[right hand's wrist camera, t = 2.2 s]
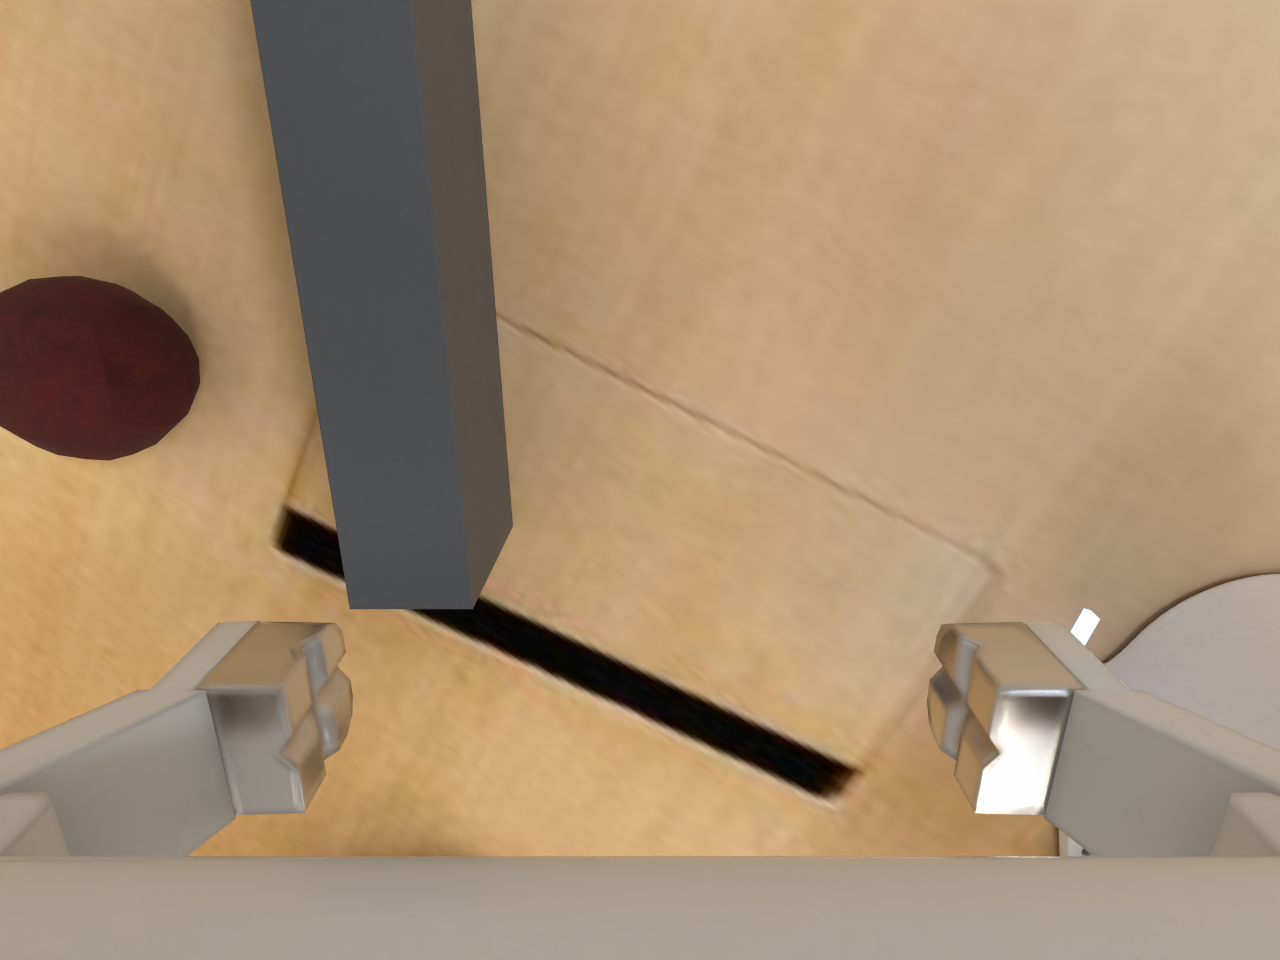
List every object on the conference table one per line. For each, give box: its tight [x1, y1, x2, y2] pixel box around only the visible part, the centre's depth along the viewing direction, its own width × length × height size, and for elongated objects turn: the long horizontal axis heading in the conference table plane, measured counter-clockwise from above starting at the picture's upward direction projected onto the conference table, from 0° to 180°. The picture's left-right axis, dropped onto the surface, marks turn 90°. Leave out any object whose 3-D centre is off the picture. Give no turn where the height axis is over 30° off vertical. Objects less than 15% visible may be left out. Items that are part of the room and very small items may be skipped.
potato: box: [0, 276, 200, 460], centre depth 30 cm, size 7×8×7 cm
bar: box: [251, 0, 513, 609], centre depth 28 cm, size 27×5×8 cm, turn 1°
